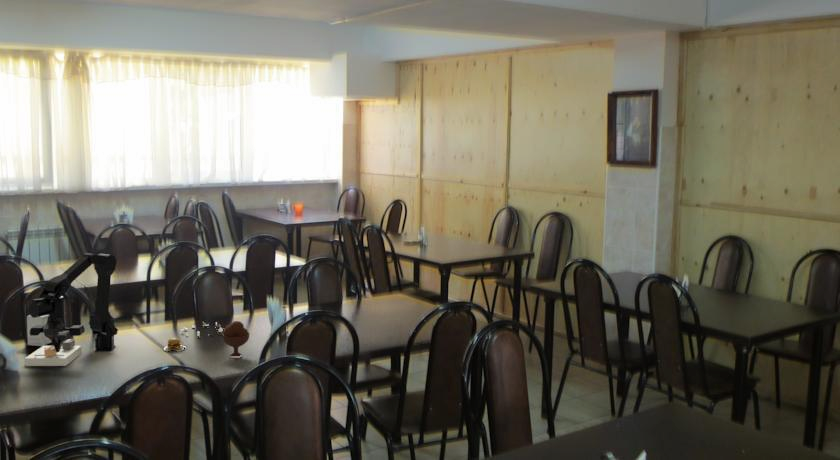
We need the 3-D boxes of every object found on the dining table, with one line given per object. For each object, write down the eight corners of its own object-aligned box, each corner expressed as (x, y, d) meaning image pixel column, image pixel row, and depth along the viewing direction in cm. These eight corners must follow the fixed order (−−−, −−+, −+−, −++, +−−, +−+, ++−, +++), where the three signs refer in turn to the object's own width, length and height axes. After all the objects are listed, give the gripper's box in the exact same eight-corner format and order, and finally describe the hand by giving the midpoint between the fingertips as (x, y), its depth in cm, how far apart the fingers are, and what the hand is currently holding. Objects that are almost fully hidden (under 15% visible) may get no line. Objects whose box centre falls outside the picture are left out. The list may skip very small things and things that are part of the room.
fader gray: (74, 345, 318) (74, 338, 318) (70, 349, 313) (70, 342, 313) (67, 345, 318) (66, 338, 317) (62, 349, 313) (62, 342, 312)
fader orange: (57, 352, 308) (57, 345, 307) (52, 356, 303) (52, 349, 303) (49, 352, 308) (49, 345, 307) (44, 356, 303) (44, 349, 302)
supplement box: (42, 346, 328) (41, 316, 326) (27, 345, 329) (26, 315, 328) (54, 342, 335) (53, 313, 334) (39, 340, 336) (37, 311, 335)
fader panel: (81, 352, 320) (81, 345, 320) (65, 365, 302) (65, 358, 302) (43, 352, 319) (43, 345, 318) (25, 365, 301) (24, 357, 301)
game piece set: (233, 331, 361) (233, 323, 360) (201, 341, 344) (200, 332, 343) (203, 325, 370) (203, 317, 370) (169, 334, 353) (169, 326, 353)
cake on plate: (195, 348, 333) (195, 335, 332) (179, 355, 321) (179, 342, 321) (170, 345, 336) (170, 333, 335) (153, 353, 325) (153, 340, 324)
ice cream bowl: (254, 354, 324) (254, 318, 322) (239, 361, 313) (239, 324, 311) (232, 351, 327) (231, 316, 325) (216, 358, 317) (216, 322, 315)
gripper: (22, 317, 295) (24, 357, 296) (74, 317, 296) (75, 357, 298) (34, 310, 306) (36, 349, 308) (84, 310, 307) (85, 349, 309)
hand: (58, 351), depth 305 cm, fingers closed
